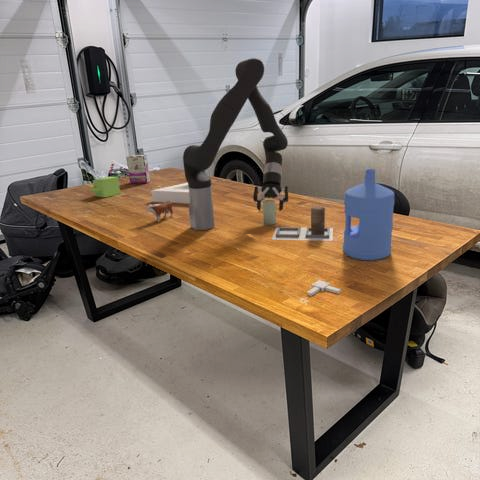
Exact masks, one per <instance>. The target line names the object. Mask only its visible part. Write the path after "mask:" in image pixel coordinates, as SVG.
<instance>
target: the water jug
mask: <svg viewBox="0 0 480 480" xmlns="http://www.w3.org/2000/svg"><path fill="white" fill-rule="evenodd" d="M364 171H365V175H364V182H363V183H361V184H358V185H356V186H353V187H351V188H348V189H347V190H346V191H345V192H344V198H343V199H344V200H343V203H344V214H345V220H344V222H345V223H344V224H345V225H344V227H345V228H344V231H343V243H342V249H343V252H344V254H345V255H347V256H348V257H350V258H351V259H356V260H361V261H377V260H378V261H379V260H382V259H383V260H384V259H385V258H387V257H390V254H391V252H392V238H393V237H392V235H393V234H392V233H393V228H394V227H393V225H394V223H393V221H394V220H393V219H394V208H395V207H394V206H395V192H394V190H391V189H390V188H388V187H386V186H384V185H381V184H379V183H376V171H377V170H376V169H372V168H370V169H365V170H364ZM352 218H353V219H354V218H356V219H359V223H358V224H357V225H354V226H353V225H351V224H352V223H351V222H352Z"/></svg>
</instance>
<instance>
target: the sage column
mask: <svg viewBox="0 0 480 480" xmlns="http://www.w3.org/2000/svg"><path fill="white" fill-rule="evenodd" d="M276 205H277V204H276V200H274V199H267V200H266V199H264V200H263V201H262V212H263V227H267V226H273V225H276V224H277V215H276V214H277V213H276V212H277V210H276V207H277V206H276Z"/></svg>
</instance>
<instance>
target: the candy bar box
mask: <svg viewBox="0 0 480 480" xmlns="http://www.w3.org/2000/svg"><path fill="white" fill-rule="evenodd" d="M126 164H127V171H128V176H129V177H128V178H129V184H131V185H132V184H133V185H134V184H135V185H136V184H139V185H140V184H148V183H150V182H151V179H150V172H149V171H150V170H149V163H148V155H147V154H133V155H130V154H129V155H127V156H126Z"/></svg>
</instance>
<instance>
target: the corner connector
mask: <svg viewBox="0 0 480 480" xmlns="http://www.w3.org/2000/svg"><path fill="white" fill-rule="evenodd" d="M320 291H321V292H324V291H326V292H330V293H333V294H340V293H341V289H340V288H337V287H334V286H331V283H330V282H326V281H323V280H320V279H319V280H317V281H315V282H314V283H312V284H311V289H309V290H307V293H306V294H307V296H310V297H312V296H313V295H316V294H317V293H319V292H320Z"/></svg>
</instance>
